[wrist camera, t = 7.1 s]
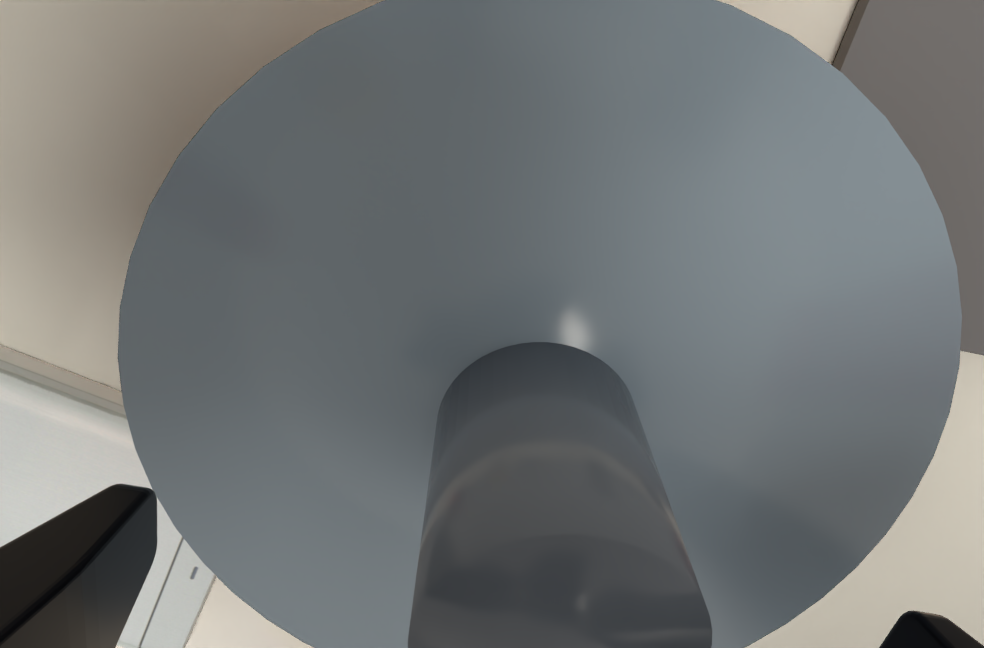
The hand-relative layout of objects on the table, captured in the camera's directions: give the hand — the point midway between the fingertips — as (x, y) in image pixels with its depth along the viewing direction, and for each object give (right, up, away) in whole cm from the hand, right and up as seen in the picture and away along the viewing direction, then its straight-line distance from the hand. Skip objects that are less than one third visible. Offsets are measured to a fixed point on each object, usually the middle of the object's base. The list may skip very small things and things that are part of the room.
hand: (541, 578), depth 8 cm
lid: (0, +2, +4) cm, 4 cm away
